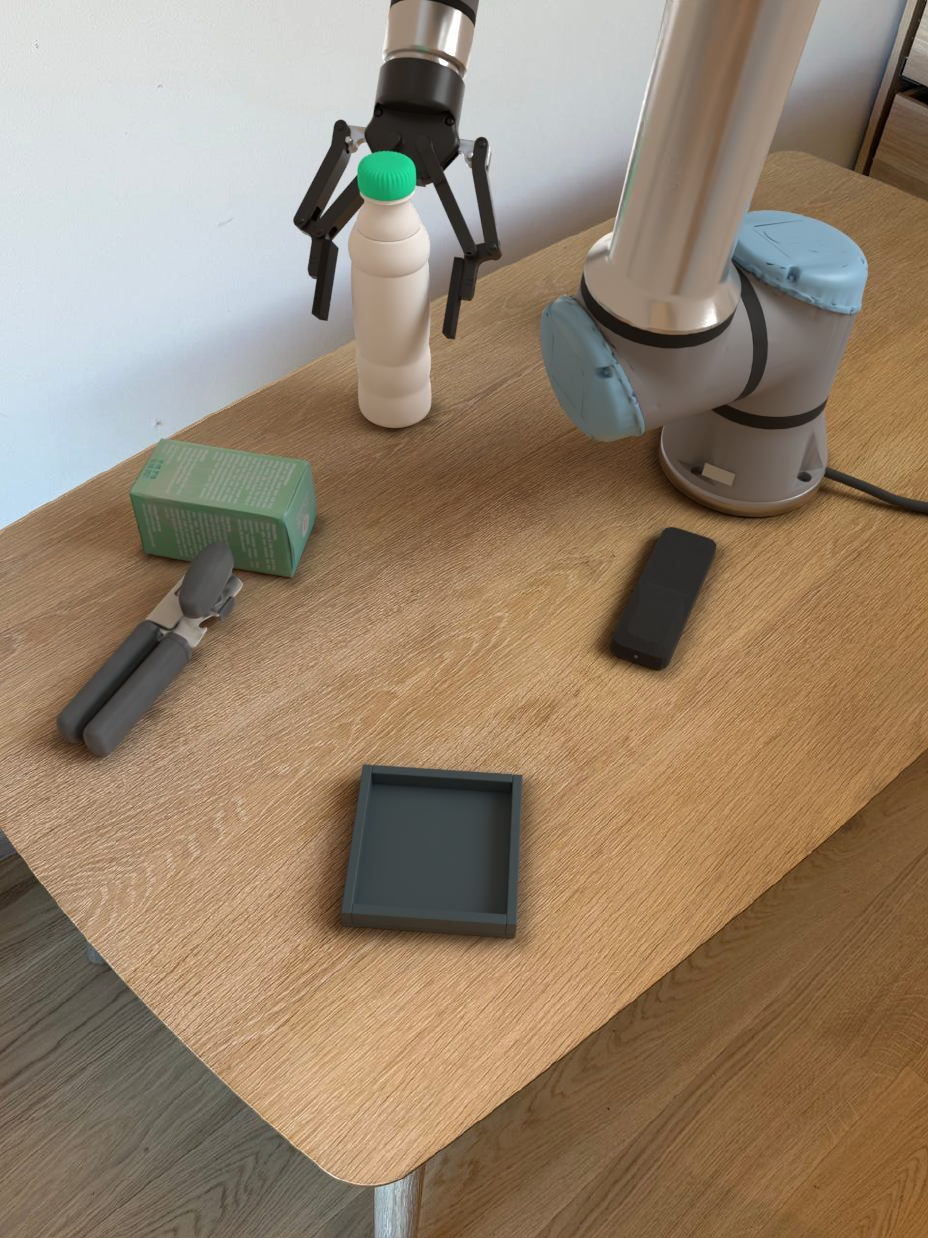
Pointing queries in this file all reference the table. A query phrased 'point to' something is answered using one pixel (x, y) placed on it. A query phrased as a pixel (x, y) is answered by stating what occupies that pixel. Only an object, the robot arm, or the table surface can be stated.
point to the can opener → (151, 654)
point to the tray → (435, 852)
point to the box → (225, 505)
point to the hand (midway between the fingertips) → (383, 326)
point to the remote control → (663, 598)
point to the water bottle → (390, 294)
